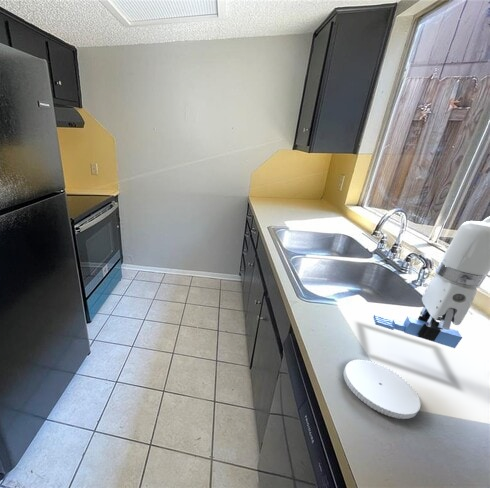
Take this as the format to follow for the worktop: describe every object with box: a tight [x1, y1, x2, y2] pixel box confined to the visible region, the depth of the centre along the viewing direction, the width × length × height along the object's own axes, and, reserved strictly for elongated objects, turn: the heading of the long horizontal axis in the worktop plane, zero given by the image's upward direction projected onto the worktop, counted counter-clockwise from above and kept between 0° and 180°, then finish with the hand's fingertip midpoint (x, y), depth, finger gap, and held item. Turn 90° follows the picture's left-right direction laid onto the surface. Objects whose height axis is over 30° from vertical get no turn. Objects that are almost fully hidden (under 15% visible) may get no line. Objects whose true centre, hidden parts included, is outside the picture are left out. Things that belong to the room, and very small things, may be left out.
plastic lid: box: [342, 359, 422, 420], centre depth 60 cm, size 14×14×2 cm
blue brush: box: [373, 314, 463, 349], centre depth 68 cm, size 16×4×4 cm, turn 61°
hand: (423, 333), depth 68 cm, fingers closed on blue brush, 2 cm apart
